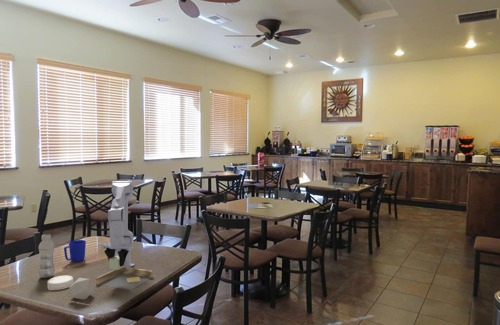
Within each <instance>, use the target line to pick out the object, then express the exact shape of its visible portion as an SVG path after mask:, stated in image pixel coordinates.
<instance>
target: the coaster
mask: <svg viewBox="0 0 500 325" xmlns="http://www.w3.org/2000/svg"><path fill="white" fill-rule="evenodd" d="M73 283H74V277H73V276H72V275H68V274H67V275H58V276H54V277H52V278H51V277H50V279H48V280H47V285H46V286H47V291H50V292H51V291H55V290H58V291H59V290H64V289H67V288H69V287H70V286H71V285H72V284H73Z"/></svg>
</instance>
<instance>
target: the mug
mask: <svg viewBox="0 0 500 325" xmlns="http://www.w3.org/2000/svg"><path fill="white" fill-rule="evenodd" d="M86 245H87V241H86V240H84V239H77V240H76V239H75V240H72V241H69V242H68V245H67V246H64V248H63V252H64V257H65V260H66V261H71V262H75V263H76V262H77V263H78V262H81V261H84V260H85V258H86ZM68 249H69V257H70V258H69V257H68V253H67V252H68V251H67V250H68Z"/></svg>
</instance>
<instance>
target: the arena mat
mask: <svg viewBox="0 0 500 325" xmlns="http://www.w3.org/2000/svg"><path fill="white" fill-rule="evenodd" d="M150 279H151V278H150V277H143V276H137V275H130V274H124V273H120V274H118V275H116V276H114V277H112V278H110V279H108V280H106V281H104V282H102V283H100V284H98V285H97V284H96V283H95V285H97V286H102V287H110V288H116V289H121V290H127V291H131V290H133V289H135V288H136V287H138V286H140V285H141V284H143V283H145V282H146V281H149V280H150Z"/></svg>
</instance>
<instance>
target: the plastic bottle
mask: <svg viewBox="0 0 500 325" xmlns="http://www.w3.org/2000/svg"><path fill="white" fill-rule="evenodd" d="M40 238H41V241H40V243H39V245H38V251H39V270H38V275H39V277H40V278H41V279H49V278H51V277H52V278H53V276H54V275H55V273H56V272H55V270H56V269H55V264H54V251H55V250H54V249H55V244H54V242H53V241H52V240H51V239H52V237H51V234H50V233H46V234H42V235H41V237H40Z"/></svg>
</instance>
